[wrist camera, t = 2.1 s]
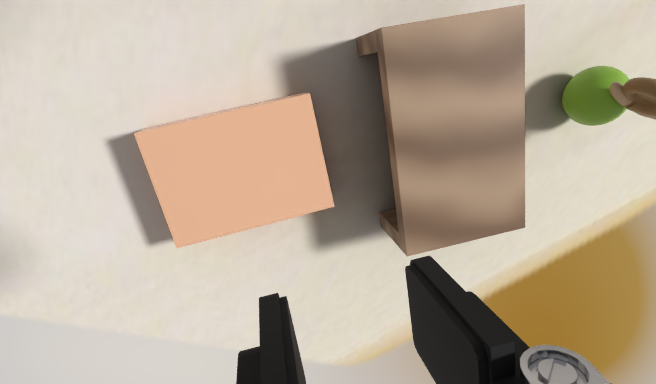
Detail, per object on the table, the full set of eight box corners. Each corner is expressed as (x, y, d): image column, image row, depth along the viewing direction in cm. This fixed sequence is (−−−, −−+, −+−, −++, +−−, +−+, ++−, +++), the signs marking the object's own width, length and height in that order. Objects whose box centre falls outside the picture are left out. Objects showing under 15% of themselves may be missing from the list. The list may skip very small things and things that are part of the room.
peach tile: (146, 128, 32) (133, 133, 29) (304, 92, 34) (309, 93, 31) (183, 232, 36) (176, 248, 32) (327, 195, 37) (334, 206, 34)
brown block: (356, 38, 33) (381, 27, 26) (472, 18, 34) (524, 4, 28) (381, 226, 39) (407, 256, 32) (480, 203, 40) (525, 227, 33)
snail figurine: (581, 136, 40) (709, 158, 29) (539, 105, 38) (659, 116, 27) (612, 90, 39) (758, 94, 28) (571, 56, 37) (710, 46, 26)
